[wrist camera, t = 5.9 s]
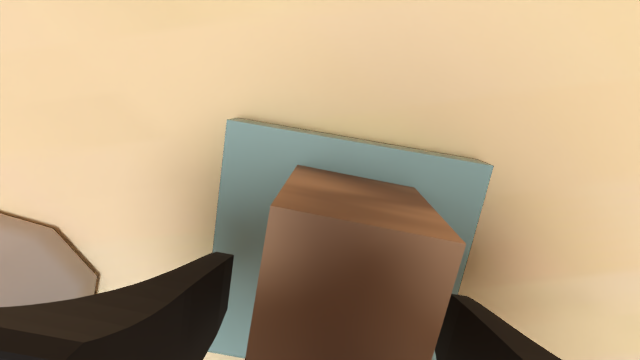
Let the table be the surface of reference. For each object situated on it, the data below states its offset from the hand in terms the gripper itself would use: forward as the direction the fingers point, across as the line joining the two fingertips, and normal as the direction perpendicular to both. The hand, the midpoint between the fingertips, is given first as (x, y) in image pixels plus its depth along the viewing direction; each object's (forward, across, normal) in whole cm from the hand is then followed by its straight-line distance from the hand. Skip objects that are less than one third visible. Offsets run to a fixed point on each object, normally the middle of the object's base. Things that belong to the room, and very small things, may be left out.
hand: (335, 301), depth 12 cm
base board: (+4, 0, 0) cm, 4 cm away
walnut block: (+3, 0, -2) cm, 3 cm away
